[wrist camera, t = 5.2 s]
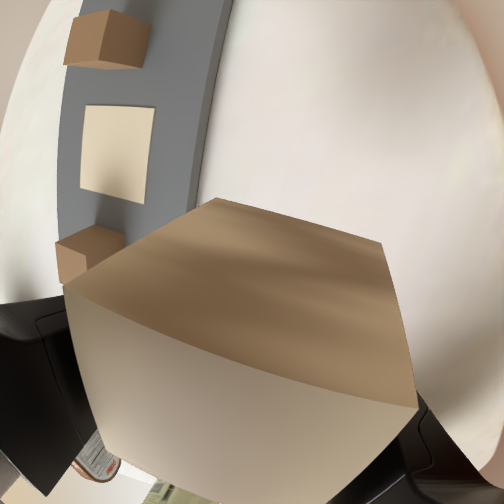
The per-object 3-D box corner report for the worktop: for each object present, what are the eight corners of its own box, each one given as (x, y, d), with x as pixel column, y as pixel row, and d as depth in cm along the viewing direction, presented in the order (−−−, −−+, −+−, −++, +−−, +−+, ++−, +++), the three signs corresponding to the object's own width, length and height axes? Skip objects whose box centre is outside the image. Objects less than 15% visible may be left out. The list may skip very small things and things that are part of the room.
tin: (66, 385, 34) (30, 421, 27) (78, 387, 33) (40, 426, 26) (119, 453, 39) (93, 488, 31) (132, 457, 37) (106, 494, 30)
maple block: (381, 243, 8) (418, 409, 3) (328, 370, 10) (298, 524, 5) (216, 197, 9) (62, 286, 4) (198, 328, 11) (106, 450, 6)
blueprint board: (237, -18, 13) (201, -58, 8) (183, 324, 23) (148, 366, 18) (94, 1, 15) (46, -13, 11) (71, 275, 25) (32, 300, 20)
